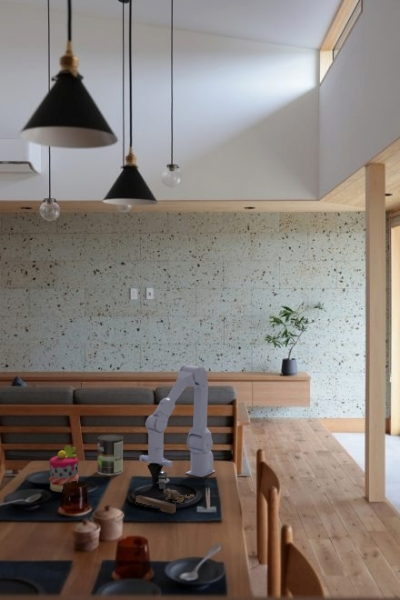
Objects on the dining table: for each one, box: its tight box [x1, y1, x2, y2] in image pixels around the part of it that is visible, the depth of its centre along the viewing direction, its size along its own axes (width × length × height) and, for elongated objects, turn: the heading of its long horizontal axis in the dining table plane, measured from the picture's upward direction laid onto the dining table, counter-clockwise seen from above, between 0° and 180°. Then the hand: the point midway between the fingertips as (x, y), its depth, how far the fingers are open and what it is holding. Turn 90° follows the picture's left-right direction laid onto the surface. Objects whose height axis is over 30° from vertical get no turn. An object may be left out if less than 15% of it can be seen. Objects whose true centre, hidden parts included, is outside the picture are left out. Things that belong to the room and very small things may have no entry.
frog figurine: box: [163, 487, 195, 502], centre depth 234 cm, size 12×12×4 cm
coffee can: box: [97, 433, 124, 477], centre depth 266 cm, size 10×10×14 cm
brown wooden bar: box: [135, 494, 177, 515], centre depth 226 cm, size 2×16×2 cm, turn 54°
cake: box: [48, 445, 80, 493], centre depth 246 cm, size 10×11×15 cm
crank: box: [158, 469, 168, 490], centre depth 250 cm, size 14×4×4 cm, turn 5°
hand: (155, 482), depth 249 cm, fingers closed, pressing on crank
